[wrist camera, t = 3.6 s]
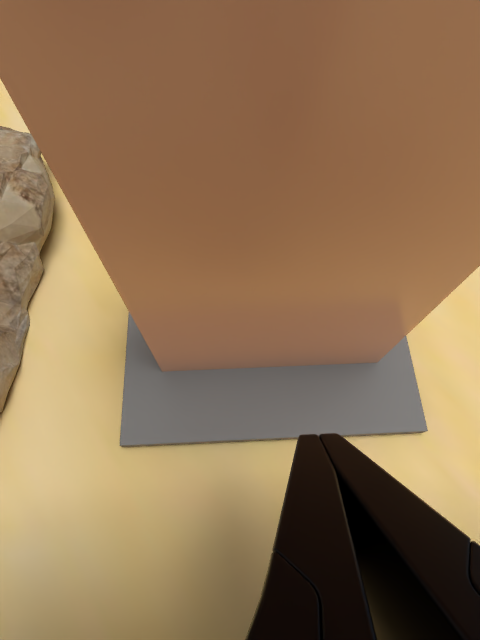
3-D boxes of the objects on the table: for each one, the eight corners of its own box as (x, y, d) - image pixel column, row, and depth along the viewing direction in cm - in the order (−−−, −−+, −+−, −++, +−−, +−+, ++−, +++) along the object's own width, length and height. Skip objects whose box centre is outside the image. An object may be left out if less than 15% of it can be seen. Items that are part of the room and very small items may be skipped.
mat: (422, 432, 16) (427, 430, 16) (123, 447, 16) (119, 445, 16) (346, 91, 25) (348, 84, 24) (145, 95, 24) (144, 87, 24)
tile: (377, 362, 17) (963, -192, 3) (162, 371, 17) (-153, -200, 3) (367, 310, 18) (791, -284, 4) (163, 318, 18) (-71, -296, 4)
